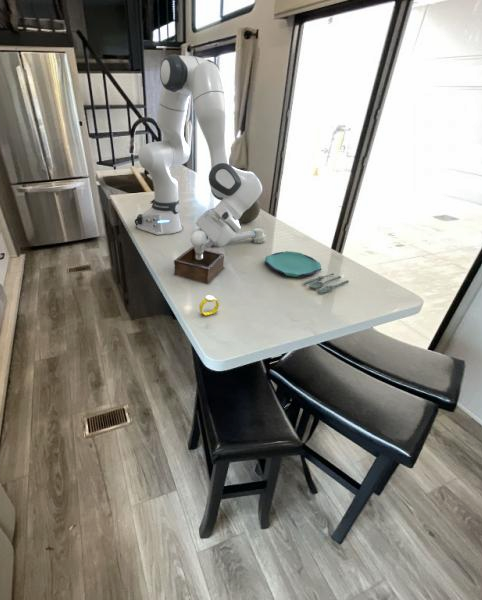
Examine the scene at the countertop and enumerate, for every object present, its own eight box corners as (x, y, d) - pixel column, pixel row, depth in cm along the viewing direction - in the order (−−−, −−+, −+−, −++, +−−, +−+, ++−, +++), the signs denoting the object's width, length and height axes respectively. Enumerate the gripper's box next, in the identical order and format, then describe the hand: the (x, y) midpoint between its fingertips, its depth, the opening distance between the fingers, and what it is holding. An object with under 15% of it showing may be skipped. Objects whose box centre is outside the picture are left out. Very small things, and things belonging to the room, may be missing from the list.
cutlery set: (293, 252, 134) (294, 247, 133) (353, 284, 112) (354, 278, 111) (255, 262, 126) (256, 256, 125) (312, 298, 104) (313, 292, 103)
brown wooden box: (174, 274, 117) (173, 260, 114) (191, 260, 127) (192, 246, 124) (207, 284, 112) (208, 269, 108) (223, 268, 122) (224, 254, 119)
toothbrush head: (209, 235, 139) (262, 223, 142) (210, 249, 143) (262, 237, 146) (212, 239, 135) (267, 227, 138) (214, 253, 139) (267, 241, 142)
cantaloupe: (235, 216, 172) (238, 188, 164) (261, 220, 167) (265, 191, 159) (226, 224, 162) (228, 195, 154) (253, 229, 157) (257, 198, 148)
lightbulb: (187, 257, 118) (188, 229, 112) (203, 254, 120) (204, 227, 114) (194, 264, 113) (195, 235, 107) (210, 261, 116) (212, 233, 109)
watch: (201, 318, 94) (202, 302, 91) (197, 313, 96) (198, 297, 93) (219, 314, 96) (220, 297, 93) (215, 309, 99) (216, 293, 95)
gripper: (208, 201, 117) (183, 229, 120) (231, 219, 101) (202, 251, 104) (218, 211, 121) (194, 239, 123) (243, 231, 105) (214, 261, 107)
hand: (197, 244), depth 113 cm, fingers closed on lightbulb, 6 cm apart
